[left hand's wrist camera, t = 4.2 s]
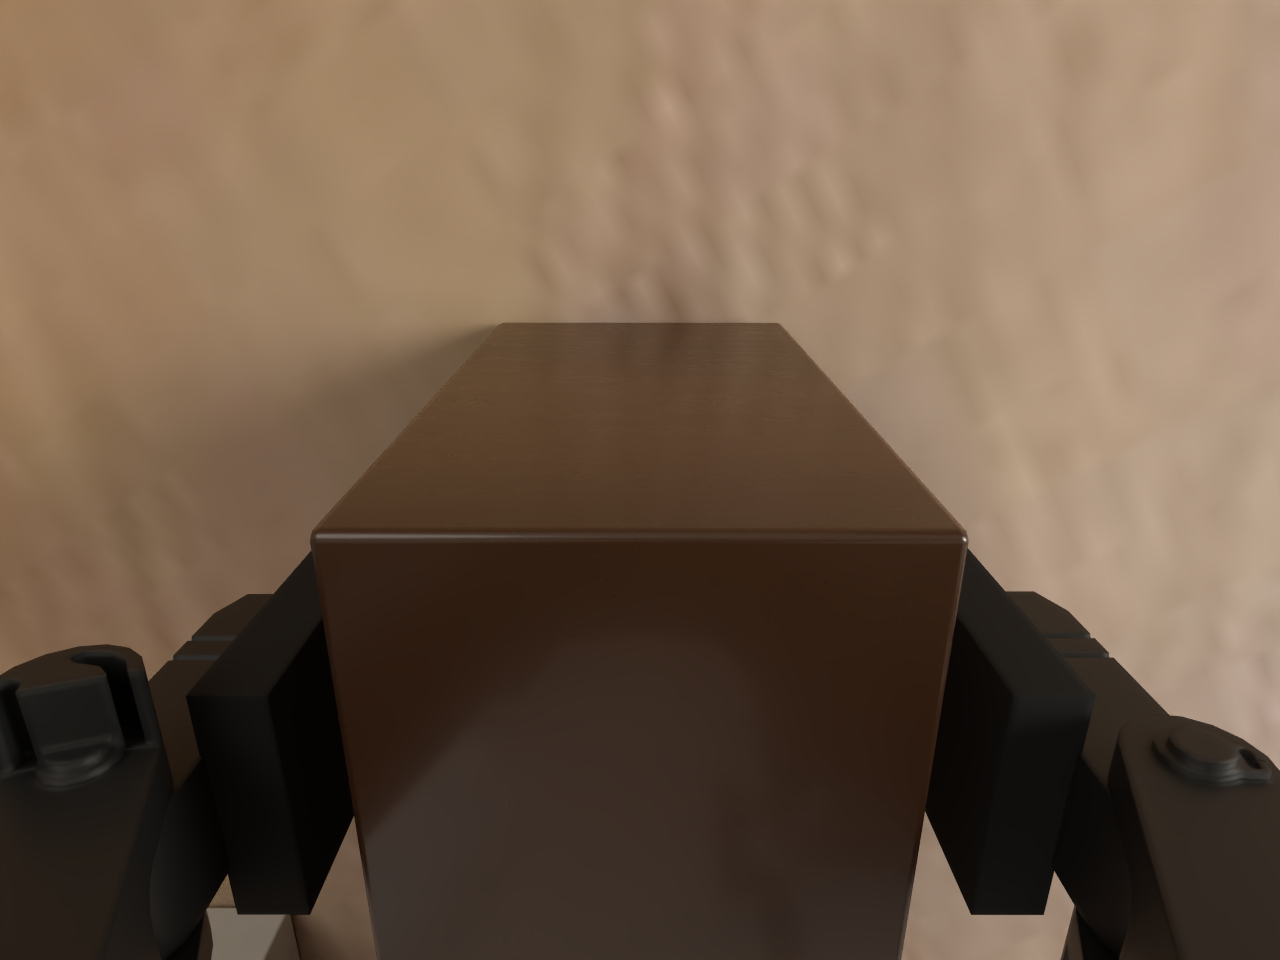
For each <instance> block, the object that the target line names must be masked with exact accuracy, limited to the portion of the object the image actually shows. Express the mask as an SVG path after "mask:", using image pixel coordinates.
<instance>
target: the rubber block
mask: <svg viewBox="0 0 1280 960" xmlns="http://www.w3.org/2000/svg"><path fill="white" fill-rule="evenodd" d="M207 914H208V918H209V921H210V925H211V931H212V939H213V950H212V958H211V960H300V957H299V952H298V948H297V943H296V938H295V933H294V928H293V924H292V919H291V915H237V910H236V908H220V907H208V908H207Z"/></svg>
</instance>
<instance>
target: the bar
mask: <svg viewBox="0 0 1280 960" xmlns="http://www.w3.org/2000/svg"><path fill="white" fill-rule="evenodd" d="M310 543H311V549H312V555H313V562H314V568H315V574H316V580H317V587H318V593H319V599H320V605H321V611H322V618H323V624H324V630H325V636H326V643H327V649H328V655H329V661H330V668H331V674H332V680H333V686H334V693H335V699H336V705H337V711H338V717H339V724H340V730H341V736H342V742H343V749H344V755H345V761H346V767H347V774H348V780H349V786H350V792H351V799H352V805H353V811H354V817H355V823H356V830H357V836H358V842H359V848H360V855H361V861H362V867H363V873H364V880H365V886H366V892H367V898H368V905H369V911H370V917H371V923H372V929H373V936H374V942H375V948H376V954H377V960H901V956H902V950H903V944H904V938H905V931H906V925H907V919H908V913H909V907H910V900H911V894H912V888H913V882H914V876H915V869H916V863H917V857H918V851H919V845H920V838H921V832H922V826H923V820H924V814H925V807H926V801H927V795H928V789H929V783H930V777H931V770H932V764H933V758H934V752H935V746H936V739H937V733H938V727H939V721H940V715H941V708H942V702H943V696H944V690H945V684H946V677H947V671H948V665H949V659H950V653H951V646H952V640H953V634H954V628H955V622H956V615H957V609H958V603H959V597H960V591H961V584H962V578H963V572H964V566H965V560H966V553H967V547H968V536H967V533H966V531H965V529H964V528H963V527H962V526H961V525H960V524H959V523H958V522H957V521H956V519H955V518H954V517H953V516H952V515H951V514H950V513H949V512H948V511H947V509H946V508H945V507H944V506H943V505H942V504H941V503H940V502H939V501H938V499H937V498H936V497H935V496H934V495H933V494H932V493H931V492H930V490H929V489H928V488H927V487H926V486H925V485H924V484H923V483H922V482H921V480H920V479H919V478H918V477H917V476H916V475H915V474H914V473H913V472H912V470H911V469H910V468H909V467H908V466H907V465H906V464H905V463H904V462H903V460H902V459H901V458H900V457H899V456H898V455H897V454H896V453H895V452H894V450H893V449H892V448H891V447H890V446H889V445H888V444H887V443H886V441H885V440H884V439H883V438H882V437H881V436H880V435H879V434H878V433H877V431H876V430H875V429H874V428H873V427H872V426H871V425H870V424H869V423H868V421H867V420H866V419H865V418H864V417H863V416H862V415H861V414H860V413H859V411H858V410H857V409H856V408H855V407H854V406H853V405H852V404H851V402H850V401H849V400H848V399H847V398H846V397H845V396H844V395H843V394H842V392H841V391H840V390H839V389H838V388H837V387H836V386H835V385H834V384H833V382H832V381H831V380H830V379H829V378H828V377H827V376H826V375H825V374H824V372H823V371H822V370H821V369H820V368H819V367H818V366H817V365H816V363H815V362H814V361H813V360H812V359H811V358H810V357H809V356H808V355H807V353H806V352H805V351H804V350H803V349H802V348H801V347H800V346H799V345H798V343H797V342H796V341H795V340H794V339H793V338H792V337H791V336H790V335H789V333H788V332H787V331H786V330H785V329H784V328H783V327H782V326H781V325H780V324H778V323H502V324H500V325H499V326H498V327H497V328H496V329H495V330H494V331H493V333H492V334H491V335H490V336H489V337H488V338H487V339H486V340H485V341H484V342H483V344H482V345H481V346H480V347H479V348H478V349H477V350H476V351H475V352H474V353H473V355H472V356H471V357H470V358H469V359H468V360H467V361H466V362H465V363H464V364H463V366H462V367H461V368H460V369H459V370H458V371H457V372H456V373H455V374H454V375H453V377H452V378H451V379H450V380H449V381H448V382H447V383H446V384H445V385H444V386H443V388H442V389H441V390H440V391H439V392H438V393H437V394H436V395H435V396H434V397H433V399H432V400H431V401H430V402H429V403H428V404H427V405H426V406H425V407H424V408H423V410H422V411H421V412H420V413H419V414H418V415H417V416H416V417H415V418H414V419H413V421H412V422H411V423H410V424H409V425H408V426H407V427H406V428H405V429H404V430H403V432H402V433H401V434H400V435H399V436H398V437H397V438H396V439H395V440H394V441H393V443H392V444H391V445H390V446H389V447H388V448H387V449H386V450H385V451H384V452H383V454H382V455H381V456H380V457H379V458H378V459H377V460H376V461H375V462H374V463H373V465H372V466H371V467H370V468H369V469H368V470H367V471H366V472H365V473H364V474H363V476H362V477H361V478H360V479H359V480H358V481H357V482H356V483H355V484H354V485H353V487H352V488H351V489H350V490H349V491H348V492H347V493H346V494H345V495H344V496H343V498H342V499H341V500H340V501H339V502H338V503H337V504H336V505H335V506H334V507H333V509H332V510H331V511H330V512H329V513H328V514H327V515H326V516H325V517H324V518H323V520H322V521H321V522H320V523H319V524H318V525H317V526H316V527H315V528H314V529H313V531H312V534H311V537H310Z"/></svg>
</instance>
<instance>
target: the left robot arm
mask: <svg viewBox="0 0 1280 960" xmlns="http://www.w3.org/2000/svg"><path fill="white" fill-rule="evenodd" d="M925 812H926V814H927V816H928V819H929V821H930V823H931V825H932V828H933V830H934V832H935V834H936V837H937V839H938V841H939V843H940V846H941V848H942V850H943V852H944V855H945V857H946V859H947V861H948V864H949V866H950V868H951V870H952V873H953V875H954V877H955V879H956V882H957V884H958V886H959V888H960V891H961V893H962V895H963V897H964V900H965V902H966V904H967V906H968V909H969V911H970V913H971V915H1044V911H1045V907H1046V903H1047V899H1048V894H1049V890H1050V886H1051V882H1052V878H1053V874H1054V871H1055V873H1056V874H1057V876H1058V878H1059V879H1060V881H1061V883H1062V884H1063V886H1064V888H1065V890H1066V891H1067V893H1068V895H1069V896H1070V898H1071V900H1072V901H1073V903H1074V905H1075V906H1074V910H1073V914H1072V918H1071V921H1070V925H1069V929H1068V933H1067V937H1066V941H1065V945H1064V949H1063V953H1062V957H1061V960H1280V771H1279V769H1278V768H1277V767H1276V766H1275V765H1274V763H1273V762H1272V761H1271V760H1270V759H1269V758H1268V756H1266V755H1265V754H1263V753H1262V752H1260V751H1259V750H1258V749H1256V748H1255V747H1253V746H1252V745H1250V744H1249V743H1248V742H1246V741H1245V740H1243V739H1241V738H1239V737H1237V736H1235V735H1233V734H1231V733H1228V732H1226V731H1224V730H1222V729H1220V728H1218V727H1215V726H1213V725H1210V724H1206V723H1203V722H1199V721H1196V720H1192V719H1188V718H1185V717H1180V716H1170V715H1169V714H1168V713H1167V712H1166V711H1165V710H1164V709H1163V708H1162V707H1161V706H1160V705H1159V704H1158V703H1157V702H1156V701H1155V700H1154V699H1153V698H1152V697H1151V696H1150V695H1149V694H1148V693H1147V692H1146V691H1145V690H1144V689H1143V688H1142V687H1141V686H1140V684H1139V683H1138V682H1137V681H1136V680H1135V679H1134V678H1133V677H1132V676H1131V675H1130V674H1129V673H1128V672H1127V671H1126V670H1125V669H1124V668H1123V667H1122V666H1121V665H1120V664H1119V663H1118V662H1117V661H1116V660H1115V659H1114V658H1109V653H1108V652H1107V651H1106V649H1105V648H1104V647H1103V646H1102V645H1101V644H1100V643H1099V642H1098V641H1097V640H1096V639H1095V638H1090V633H1089V632H1088V631H1087V630H1086V629H1085V628H1084V627H1083V626H1082V625H1081V624H1080V623H1079V622H1078V621H1077V620H1076V619H1075V618H1074V617H1073V616H1072V615H1071V613H1070V612H1069V611H1067V610H1065V609H1064V608H1062V607H1060V606H1058V605H1057V604H1055V603H1053V602H1051V601H1050V600H1048V599H1046V598H1044V597H1043V596H1041V595H1039V594H1037V593H1036V592H1005V591H1004V589H1003V588H1002V587H1001V586H1000V585H999V584H998V582H997V581H996V580H995V579H994V578H993V577H992V576H991V574H990V573H989V572H988V571H987V570H986V569H985V567H984V566H983V565H982V564H981V563H980V562H979V561H978V559H977V558H976V557H975V556H974V555H973V554H972V552H971V551H970V550H969V549H968V548H967V553H966V560H965V566H964V572H963V578H962V584H961V591H960V597H959V603H958V609H957V615H956V622H955V628H954V634H953V640H952V646H951V653H950V659H949V665H948V671H947V677H946V684H945V690H944V696H943V702H942V708H941V715H940V721H939V727H938V733H937V739H936V746H935V752H934V758H933V764H932V770H931V777H930V783H929V789H928V795H927V801H926V807H925ZM353 817H354V811H353V805H352V799H351V792H350V786H349V780H348V774H347V767H346V761H345V755H344V749H343V742H342V736H341V730H340V724H339V717H338V711H337V705H336V699H335V693H334V686H333V680H332V674H331V668H330V661H329V655H328V649H327V643H326V636H325V630H324V624H323V618H322V611H321V605H320V599H319V593H318V587H317V580H316V574H315V568H314V562H313V555H312V550H311V552H310V553H309V554H308V555H307V556H306V557H305V559H304V560H303V561H302V562H301V563H300V564H299V565H298V567H297V568H296V569H295V570H294V571H293V572H292V574H291V575H290V576H289V577H288V578H287V579H286V580H285V582H284V583H283V584H282V585H281V586H280V587H279V589H278V590H277V591H276V592H275V593H274V594H247V595H246V596H244V597H242V598H240V599H239V600H237V601H235V602H233V603H232V604H230V605H228V606H226V607H225V608H223V609H221V610H219V611H218V612H216V613H214V614H213V615H212V616H211V617H210V618H209V619H208V620H207V621H206V622H205V623H204V624H203V625H202V626H201V628H200V629H199V630H198V631H197V632H196V633H195V634H194V635H193V636H192V640H191V641H187V642H186V643H185V644H184V645H183V646H182V647H181V648H180V649H179V650H178V651H177V652H176V653H175V654H174V656H173V661H168V662H167V663H166V664H165V665H164V666H163V667H162V668H161V669H160V670H159V671H158V672H157V673H156V674H155V675H154V676H153V677H152V678H151V679H150V680H149V681H148V679H147V675H146V671H145V667H144V663H143V659H142V656H140V655H139V654H137V653H136V652H135V651H133V650H132V649H130V648H127V647H121V646H114V645H108V644H105V645H93V646H80V647H75V648H70V649H66V650H62V651H58V652H54V653H50V654H46V655H43V656H41V657H38V658H35V659H33V660H30V661H28V662H25V663H23V664H20V665H18V666H15V667H13V668H11V669H10V670H8V671H6V672H5V673H3V674H1V675H0V960H211V958H212V950H213V939H212V931H211V925H210V921H209V918H208V914H207V908H208V906H209V904H210V903H211V901H212V899H213V898H214V896H215V894H216V893H217V891H218V889H219V887H220V886H221V884H222V882H223V881H224V879H225V877H226V875H227V874H228V877H229V881H230V885H231V889H232V894H233V898H234V902H235V906H236V910H237V915H310V913H311V911H312V909H313V907H314V904H315V902H316V900H317V898H318V895H319V893H320V891H321V889H322V886H323V884H324V882H325V880H326V877H327V875H328V873H329V871H330V868H331V866H332V864H333V862H334V859H335V857H336V855H337V853H338V850H339V848H340V846H341V844H342V841H343V839H344V837H345V835H346V832H347V830H348V828H349V826H350V823H351V821H352V819H353Z"/></svg>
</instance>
